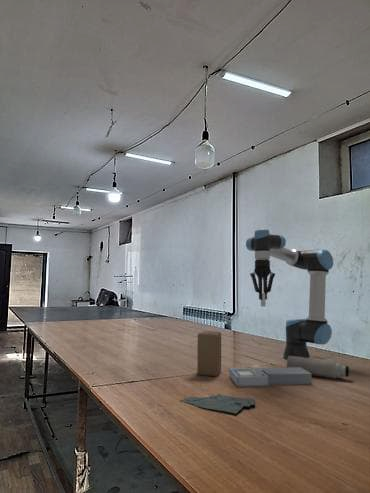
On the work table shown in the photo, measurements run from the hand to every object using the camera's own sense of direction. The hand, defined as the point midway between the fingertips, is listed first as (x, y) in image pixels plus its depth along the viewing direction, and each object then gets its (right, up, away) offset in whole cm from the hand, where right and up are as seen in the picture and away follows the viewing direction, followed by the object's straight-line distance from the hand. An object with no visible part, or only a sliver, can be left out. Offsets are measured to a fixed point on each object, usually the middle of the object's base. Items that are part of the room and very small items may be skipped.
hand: (263, 306), depth 185 cm
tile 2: (-5, -28, -16) cm, 33 cm away
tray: (-11, -32, -17) cm, 37 cm away
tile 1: (-12, -28, -17) cm, 35 cm away
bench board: (+7, -32, -15) cm, 36 cm away
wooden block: (-27, -33, -4) cm, 43 cm away
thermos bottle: (+13, -30, +2) cm, 33 cm away
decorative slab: (-26, -29, -49) cm, 63 cm away
